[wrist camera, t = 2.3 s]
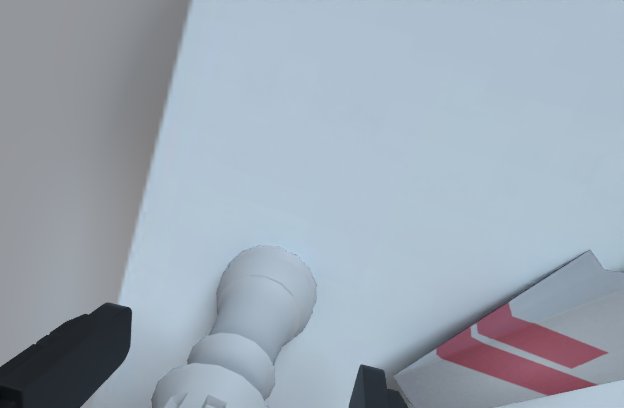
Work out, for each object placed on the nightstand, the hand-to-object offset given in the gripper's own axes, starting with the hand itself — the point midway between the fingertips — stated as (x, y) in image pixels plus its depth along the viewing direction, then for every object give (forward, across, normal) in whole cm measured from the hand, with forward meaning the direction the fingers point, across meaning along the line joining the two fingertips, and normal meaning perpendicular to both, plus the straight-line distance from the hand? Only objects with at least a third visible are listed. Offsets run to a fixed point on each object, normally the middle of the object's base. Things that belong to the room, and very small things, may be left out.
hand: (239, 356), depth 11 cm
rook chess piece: (+5, 0, 0) cm, 5 cm away
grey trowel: (+5, -14, -4) cm, 16 cm away
